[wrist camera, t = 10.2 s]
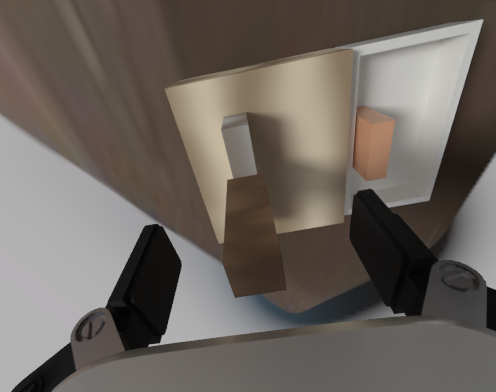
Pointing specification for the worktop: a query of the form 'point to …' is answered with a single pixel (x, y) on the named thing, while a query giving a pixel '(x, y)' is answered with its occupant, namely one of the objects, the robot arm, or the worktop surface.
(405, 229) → the robot arm
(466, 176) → the worktop surface
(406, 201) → the box
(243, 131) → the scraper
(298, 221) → the board
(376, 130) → the block
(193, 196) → the worktop surface
